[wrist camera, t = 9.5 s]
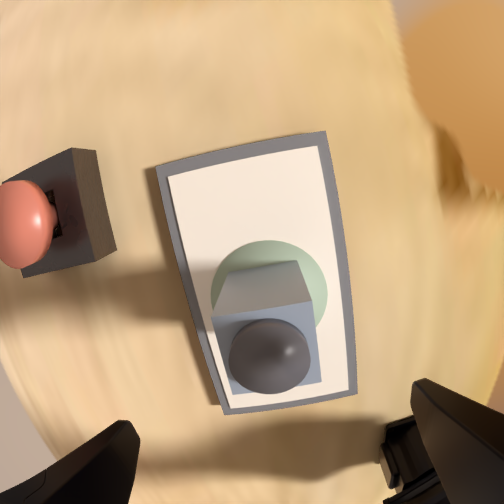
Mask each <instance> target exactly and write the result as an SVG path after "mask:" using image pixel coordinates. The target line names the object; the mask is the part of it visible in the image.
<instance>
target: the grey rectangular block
mask: <svg viewBox="0 0 504 504" xmlns="http://www.w3.org/2000/svg"><path fill="white" fill-rule="evenodd" d="M211 320H212V324H213V328H214V331H215V335H216V339H217V342H218V346H219V350H220V353H221V357H222V360H223V364H224V367H225V371H226V374H227V378H228V381H229V384H230V388H231V391H232V395H236V394H246V393H260V394H278V393H282V392H286V391H288V390H290V389H292V388H294V387H297V386H303V385H309V384H314V383H320V382H322V379H321V370H320V360H319V351H318V343H317V334H316V326H315V318H314V311H313V303H312V299H311V296H310V293H309V291H308V288H307V285H306V283H305V280H304V277H303V275H302V272H301V269H300V267H299V264H298V261H297V260H295V261H290V262H284V263H278V264H273V265H267V266H261V267H255V268H250V269H244V270H238V271H232V272H228V275H227V277H226V280H225V282H224V285H223V287H222V290H221V292H220V295H219V297H218V300H217V303H216V305H215V308H214V310H213V313H212V315H211Z"/></svg>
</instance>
